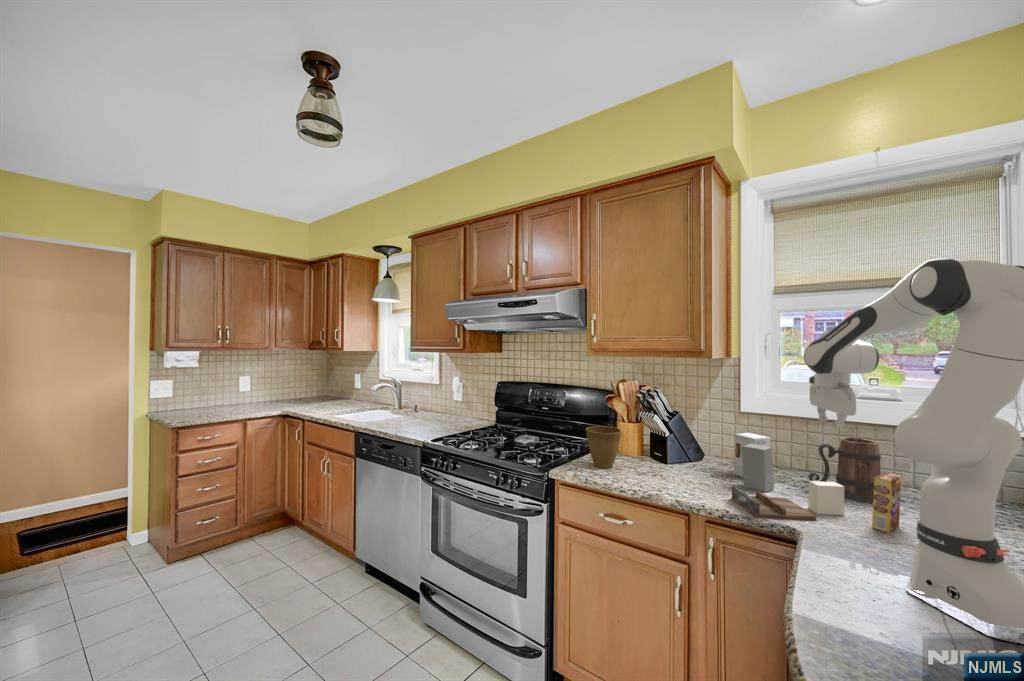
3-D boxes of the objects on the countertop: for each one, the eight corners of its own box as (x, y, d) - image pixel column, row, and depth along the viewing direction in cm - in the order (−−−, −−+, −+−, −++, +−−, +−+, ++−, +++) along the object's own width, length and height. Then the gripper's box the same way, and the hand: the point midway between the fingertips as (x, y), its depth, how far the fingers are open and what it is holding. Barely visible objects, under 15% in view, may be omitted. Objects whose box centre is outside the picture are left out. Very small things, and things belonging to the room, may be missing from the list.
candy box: (890, 533, 122) (891, 480, 122) (871, 528, 126) (872, 476, 126) (900, 527, 127) (901, 475, 127) (882, 521, 130) (883, 471, 131)
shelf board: (816, 520, 130) (816, 505, 130) (754, 517, 131) (754, 503, 131) (785, 501, 146) (786, 488, 146) (730, 498, 147) (731, 486, 147)
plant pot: (600, 459, 194) (600, 424, 194) (627, 467, 183) (628, 430, 183) (578, 465, 185) (578, 428, 185) (605, 473, 173) (606, 434, 173)
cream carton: (843, 515, 135) (844, 486, 135) (817, 513, 136) (818, 485, 136) (833, 509, 140) (834, 481, 140) (808, 508, 140) (808, 480, 141)
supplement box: (732, 474, 176) (733, 433, 177) (747, 471, 180) (748, 432, 181) (754, 481, 168) (755, 438, 168) (769, 478, 172) (770, 436, 172)
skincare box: (774, 490, 158) (775, 447, 158) (763, 493, 154) (764, 449, 154) (751, 483, 165) (751, 442, 165) (740, 486, 161) (741, 444, 161)
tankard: (875, 491, 159) (876, 437, 159) (899, 507, 143) (900, 447, 143) (802, 483, 166) (802, 432, 167) (817, 497, 150) (818, 441, 151)
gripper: (864, 385, 125) (861, 432, 125) (826, 378, 145) (825, 418, 146) (839, 384, 126) (837, 431, 127) (806, 377, 146) (804, 417, 147)
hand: (830, 424), depth 136 cm, fingers open, 8 cm apart
